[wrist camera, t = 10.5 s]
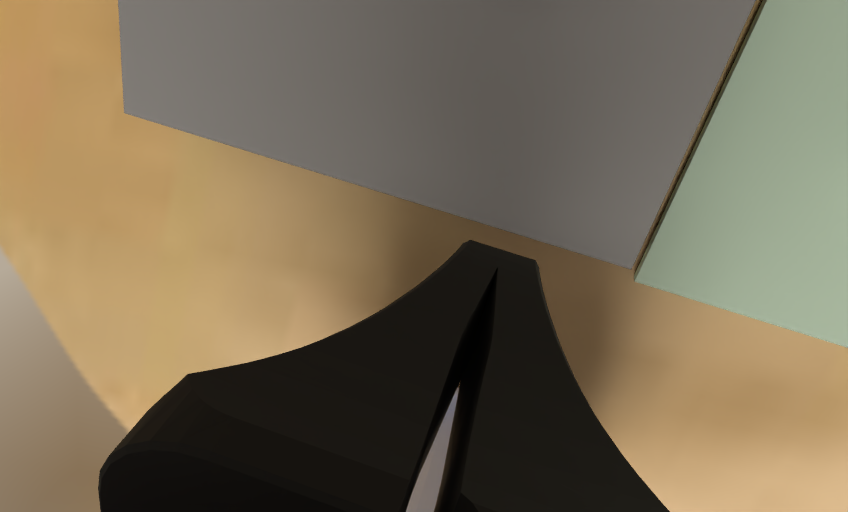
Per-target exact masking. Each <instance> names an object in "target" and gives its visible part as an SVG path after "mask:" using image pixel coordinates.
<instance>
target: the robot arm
mask: <svg viewBox="0 0 848 512" xmlns="http://www.w3.org/2000/svg"><path fill="white" fill-rule="evenodd" d="M460 380H461V381H460ZM459 383H460V386H459V388H458V385H459ZM98 490H99V500H100V509H101V512H670V511H669V510H668V509H667V508H666V507H665V506H664V505H663V504H662V503H661V501H660V500H659V499H658V498H657V497H656V495H655V494H654V493H653V492H652V491H651V490H650V488H649V487H648V486H647V485H646V484H645V482H644V481H643V480H642V479H641V478H640V477H639V475H638V474H637V473H636V472H635V470H634V469H633V468H632V467H631V465H630V464H629V463H628V461H627V460H626V459H625V458H624V456H623V455H622V454H621V452H620V451H619V449H618V448H617V446H616V445H615V444H614V442H613V441H612V439H611V438H610V436H609V435H608V434H607V432H606V431H605V429H604V428H603V427H602V425H601V424H600V422H599V420H598V419H597V417H596V416H595V414H594V413H593V411H592V409H591V407H590V405H589V404H588V402H587V400H586V398H585V396H584V395H583V393H582V391H581V389H580V387H579V385H578V383H577V381H576V379H575V377H574V375H573V373H572V371H571V368H570V366H569V364H568V362H567V359H566V357H565V355H564V352H563V350H562V347H561V345H560V342H559V340H558V337H557V334H556V331H555V328H554V325H553V322H552V320H551V317H550V314H549V310H548V307H547V303H546V300H545V296H544V292H543V288H542V283H541V278H540V272H539V267H538V265H537V263H536V261H535V260H532V259H529V258H526V257H523V256H520V255H516V254H513V253H510V252H507V251H504V250H501V249H497V248H494V247H491V246H488V245H485V244H482V243H478V242H475V241H472V240H469V241H467V242H465V243H463V244H462V245H461V247H460V248H459V249H458V250H457V251H456V252H455V253H454V254H453V255H452V256H451V257H450V258H449V259H448V260H447V261H446V262H445V263H444V264H443V265H442V266H441V267H440V268H438V269H437V270H436V271H435V272H434V273H432V274H431V275H430V276H429V277H427V278H426V279H425V280H424V281H422V282H421V283H420V284H419V285H417V286H416V287H415V288H413V289H412V290H411V291H409V292H408V293H406V294H405V295H403V296H402V297H400V298H399V299H397V300H396V301H394V302H393V303H391V304H390V305H388V306H387V307H385V308H384V309H382V310H380V311H379V312H377V313H375V314H373V315H372V316H370V317H368V318H366V319H364V320H362V321H361V322H359V323H357V324H355V325H353V326H351V327H349V328H347V329H345V330H342V331H340V332H338V333H336V334H333V335H331V336H329V337H327V338H324V339H322V340H320V341H317V342H315V343H312V344H310V345H307V346H304V347H301V348H298V349H295V350H292V351H289V352H286V353H282V354H279V355H275V356H272V357H268V358H265V359H261V360H257V361H253V362H249V363H244V364H239V365H234V366H229V367H224V368H218V369H213V370H208V371H203V372H197V373H191V374H188V375H186V376H185V377H184V378H183V379H182V380H181V381H180V382H179V383H178V384H177V385H175V386H174V387H173V388H172V389H171V390H170V391H169V392H168V393H166V394H165V395H164V396H163V397H162V398H161V399H160V400H159V401H158V402H157V403H156V404H154V405H153V406H152V407H151V408H150V409H149V410H148V411H147V412H146V413H145V415H144V416H143V417H142V418H141V419H140V420H139V422H138V423H137V424H136V425H135V426H134V427H133V429H132V430H131V431H130V432H129V433H128V434H127V435H126V437H125V438H124V439H123V440H122V441H121V443H120V444H119V445H118V446H117V447H116V448H115V449H114V451H113V452H112V453H111V454H110V455H109V457H108V458H107V460H106V462H105V463H104V465H103V466H102V468H101V470H100V476H99V486H98Z"/></svg>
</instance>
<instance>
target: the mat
mask: <svg viewBox="0 0 848 512" xmlns="http://www.w3.org/2000/svg"><path fill="white" fill-rule="evenodd" d="M634 280H635V282H638V283H641V284H644V285H647V286H651V287H654V288H657V289H660V290H663V291H667V292H670V293H673V294H676V295H680V296H683V297H686V298H689V299H692V300H696V301H699V302H702V303H705V304H709V305H712V306H715V307H718V308H721V309H725V310H728V311H731V312H734V313H738V314H741V315H744V316H747V317H750V318H754V319H757V320H760V321H763V322H767V323H770V324H773V325H776V326H779V327H783V328H786V329H789V330H792V331H796V332H799V333H802V334H805V335H808V336H812V337H815V338H818V339H821V340H825V341H828V342H831V343H834V344H837V345H841V346H844V347H847V348H848V0H763V1H762V3H761V5H760V8H759V10H758V12H757V14H756V16H755V18H754V20H753V23H752V25H751V27H750V29H749V31H748V33H747V35H746V38H745V40H744V42H743V44H742V46H741V48H740V50H739V52H738V55H737V57H736V59H735V61H734V63H733V65H732V67H731V70H730V72H729V74H728V76H727V78H726V80H725V82H724V85H723V87H722V89H721V91H720V93H719V95H718V97H717V99H716V102H715V104H714V106H713V108H712V110H711V112H710V114H709V117H708V119H707V121H706V123H705V125H704V127H703V129H702V132H701V134H700V136H699V138H698V140H697V142H696V144H695V146H694V149H693V151H692V153H691V155H690V157H689V159H688V161H687V164H686V166H685V168H684V170H683V172H682V174H681V176H680V179H679V181H678V183H677V185H676V187H675V189H674V191H673V193H672V196H671V198H670V200H669V202H668V204H667V206H666V208H665V211H664V213H663V215H662V217H661V219H660V221H659V223H658V226H657V228H656V230H655V232H654V234H653V236H652V238H651V240H650V243H649V245H648V247H647V249H646V251H645V253H644V255H643V258H642V260H641V262H640V264H639V266H638V268H637V270H636V273H635V275H634Z"/></svg>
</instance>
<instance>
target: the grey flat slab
mask: <svg viewBox="0 0 848 512" xmlns="http://www.w3.org/2000/svg"><path fill="white" fill-rule="evenodd" d="M755 1H756V0H118V7H119V25H120V44H121V62H122V81H123V99H124V113H126V114H129V115H132V116H136V117H139V118H142V119H145V120H149V121H152V122H155V123H158V124H161V125H165V126H168V127H171V128H174V129H178V130H181V131H184V132H187V133H191V134H194V135H197V136H200V137H204V138H207V139H210V140H213V141H217V142H220V143H223V144H226V145H230V146H233V147H236V148H239V149H242V150H246V151H249V152H252V153H255V154H259V155H262V156H265V157H268V158H272V159H275V160H278V161H281V162H285V163H288V164H291V165H294V166H298V167H301V168H304V169H307V170H311V171H314V172H317V173H320V174H323V175H327V176H330V177H333V178H336V179H340V180H343V181H346V182H349V183H353V184H356V185H359V186H362V187H366V188H369V189H372V190H375V191H379V192H382V193H385V194H388V195H391V196H395V197H398V198H401V199H404V200H408V201H411V202H414V203H417V204H421V205H424V206H427V207H430V208H434V209H437V210H440V211H443V212H447V213H450V214H453V215H456V216H460V217H463V218H466V219H469V220H472V221H476V222H479V223H482V224H485V225H489V226H492V227H495V228H498V229H502V230H505V231H508V232H511V233H515V234H518V235H521V236H524V237H528V238H531V239H534V240H537V241H541V242H544V243H547V244H550V245H553V246H557V247H560V248H563V249H566V250H570V251H573V252H576V253H579V254H583V255H586V256H589V257H592V258H596V259H599V260H602V261H605V262H609V263H612V264H615V265H618V266H621V267H625V268H628V269H632V267H633V265H634V263H635V261H636V258H637V256H638V254H639V252H640V250H641V248H642V245H643V243H644V241H645V239H646V237H647V235H648V232H649V230H650V228H651V226H652V224H653V222H654V219H655V217H656V215H657V213H658V211H659V209H660V206H661V204H662V202H663V200H664V198H665V196H666V193H667V191H668V189H669V187H670V185H671V183H672V180H673V178H674V176H675V174H676V172H677V170H678V168H679V165H680V163H681V161H682V159H683V157H684V155H685V152H686V150H687V148H688V146H689V144H690V142H691V139H692V137H693V135H694V133H695V131H696V129H697V126H698V124H699V122H700V120H701V118H702V116H703V113H704V111H705V109H706V107H707V105H708V103H709V100H710V98H711V96H712V94H713V92H714V90H715V87H716V85H717V83H718V81H719V79H720V77H721V74H722V72H723V70H724V68H725V66H726V64H727V62H728V59H729V57H730V55H731V53H732V51H733V49H734V46H735V44H736V42H737V40H738V38H739V36H740V33H741V31H742V29H743V27H744V25H745V23H746V20H747V18H748V16H749V14H750V12H751V10H752V7H753V5H754V3H755Z"/></svg>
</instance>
